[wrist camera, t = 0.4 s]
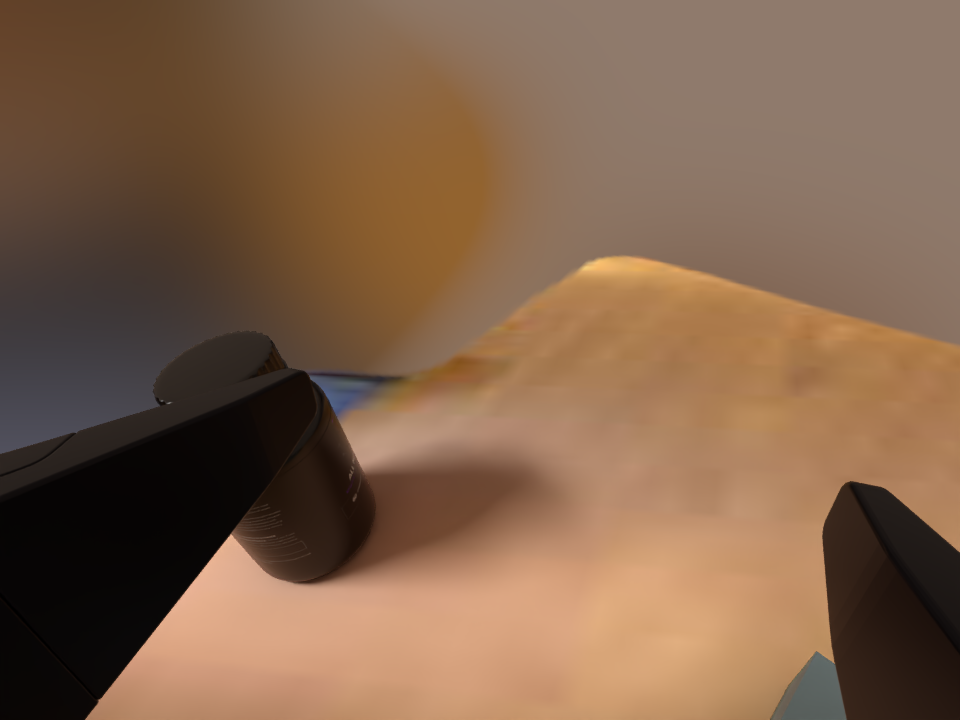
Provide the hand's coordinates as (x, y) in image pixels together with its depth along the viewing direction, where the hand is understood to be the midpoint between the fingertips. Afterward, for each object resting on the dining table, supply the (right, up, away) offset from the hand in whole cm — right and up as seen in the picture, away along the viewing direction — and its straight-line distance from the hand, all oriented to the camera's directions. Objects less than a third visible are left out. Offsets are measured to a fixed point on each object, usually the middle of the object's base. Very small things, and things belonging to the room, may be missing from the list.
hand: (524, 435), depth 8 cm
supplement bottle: (-10, -8, +19) cm, 23 cm away
